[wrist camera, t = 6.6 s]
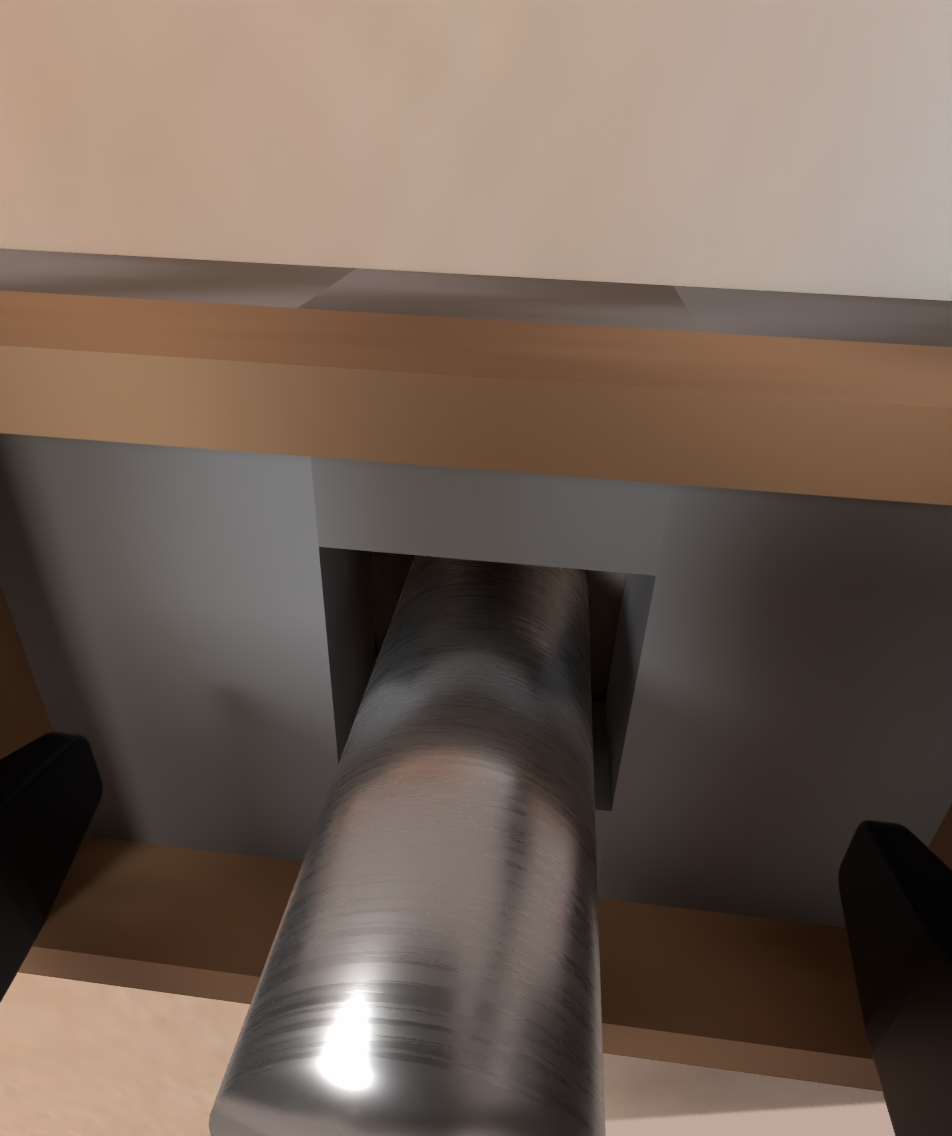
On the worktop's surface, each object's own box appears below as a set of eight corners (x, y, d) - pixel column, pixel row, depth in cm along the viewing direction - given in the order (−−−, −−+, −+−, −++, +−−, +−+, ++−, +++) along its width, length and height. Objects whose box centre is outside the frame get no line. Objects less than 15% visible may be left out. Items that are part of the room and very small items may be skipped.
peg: (598, 519, 11) (635, 1101, 5) (577, 670, 13) (583, 1271, 6) (407, 503, 12) (176, 1035, 5) (410, 653, 13) (237, 1216, 6)
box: (1113, 310, 9) (1505, 445, 5) (866, 842, 14) (972, 1103, 11) (-21, 247, 10) (-371, 321, 6) (130, 759, 16) (-15, 967, 12)
